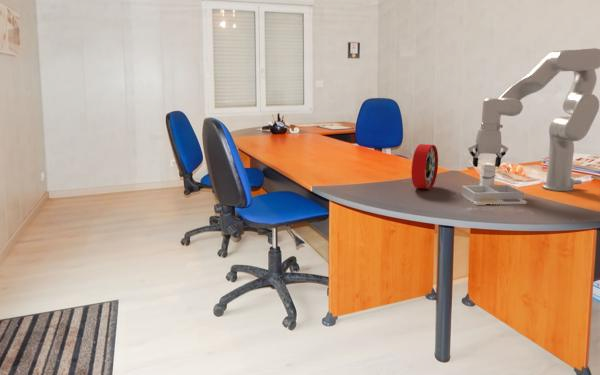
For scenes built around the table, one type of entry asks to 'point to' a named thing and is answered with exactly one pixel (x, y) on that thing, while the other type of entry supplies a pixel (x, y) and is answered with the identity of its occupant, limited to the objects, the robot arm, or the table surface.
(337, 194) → the table surface
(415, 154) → the toy clock
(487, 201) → the divided tray
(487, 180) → the ink box
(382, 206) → the table surface
